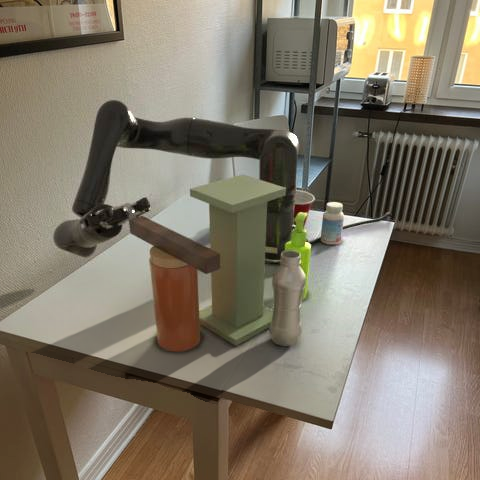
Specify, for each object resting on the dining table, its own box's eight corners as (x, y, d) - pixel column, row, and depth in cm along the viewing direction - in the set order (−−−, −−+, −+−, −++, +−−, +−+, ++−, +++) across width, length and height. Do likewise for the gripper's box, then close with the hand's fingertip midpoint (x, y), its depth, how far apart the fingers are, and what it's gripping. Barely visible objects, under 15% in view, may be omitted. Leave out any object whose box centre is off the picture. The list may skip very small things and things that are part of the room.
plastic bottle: (266, 332, 106) (270, 247, 95) (297, 331, 106) (305, 246, 95) (270, 350, 100) (275, 262, 89) (303, 349, 101) (311, 261, 90)
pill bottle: (340, 246, 144) (345, 209, 138) (319, 244, 145) (323, 207, 139) (341, 237, 149) (345, 202, 143) (321, 236, 150) (324, 200, 144)
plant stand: (193, 319, 110) (186, 187, 94) (238, 297, 118) (239, 173, 102) (235, 346, 102) (236, 206, 85) (281, 321, 110) (290, 189, 93)
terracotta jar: (194, 324, 108) (190, 237, 97) (205, 347, 101) (201, 256, 90) (154, 331, 106) (145, 243, 95) (162, 355, 99) (152, 263, 88)
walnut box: (130, 233, 99) (128, 219, 97) (143, 229, 101) (142, 215, 99) (206, 274, 84) (205, 258, 82) (220, 268, 86) (220, 253, 84)
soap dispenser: (309, 289, 122) (316, 212, 111) (303, 302, 116) (310, 223, 105) (286, 285, 123) (291, 209, 113) (279, 298, 118) (284, 219, 107)
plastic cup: (302, 242, 145) (305, 203, 139) (270, 234, 150) (271, 196, 144) (317, 230, 153) (321, 193, 147) (286, 223, 158) (288, 186, 151)
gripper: (63, 217, 107) (90, 196, 94) (120, 202, 115) (152, 181, 102) (77, 249, 108) (105, 234, 95) (132, 232, 116) (165, 216, 103)
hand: (129, 207), depth 98 cm, fingers open, 8 cm apart
